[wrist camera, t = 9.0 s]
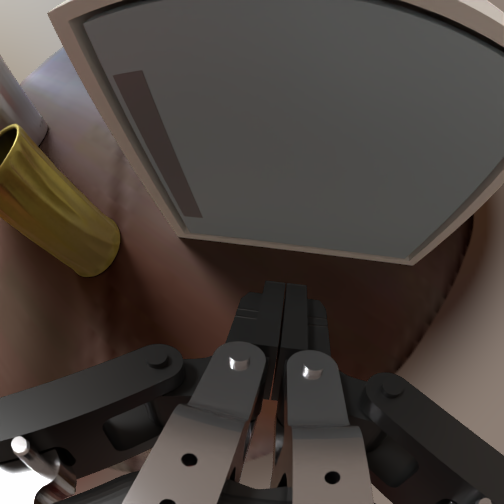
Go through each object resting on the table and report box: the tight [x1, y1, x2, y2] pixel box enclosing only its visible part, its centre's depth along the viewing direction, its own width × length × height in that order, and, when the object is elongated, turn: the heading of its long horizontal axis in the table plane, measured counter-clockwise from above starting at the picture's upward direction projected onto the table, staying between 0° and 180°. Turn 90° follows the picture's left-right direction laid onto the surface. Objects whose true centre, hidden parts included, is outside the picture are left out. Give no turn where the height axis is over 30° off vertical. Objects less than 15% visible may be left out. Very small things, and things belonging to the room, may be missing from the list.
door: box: [83, 0, 504, 259], centre depth 13 cm, size 1×17×18 cm, turn 81°
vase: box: [0, 124, 120, 277], centre depth 17 cm, size 6×6×14 cm
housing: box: [47, 0, 504, 266], centre depth 16 cm, size 16×22×20 cm
